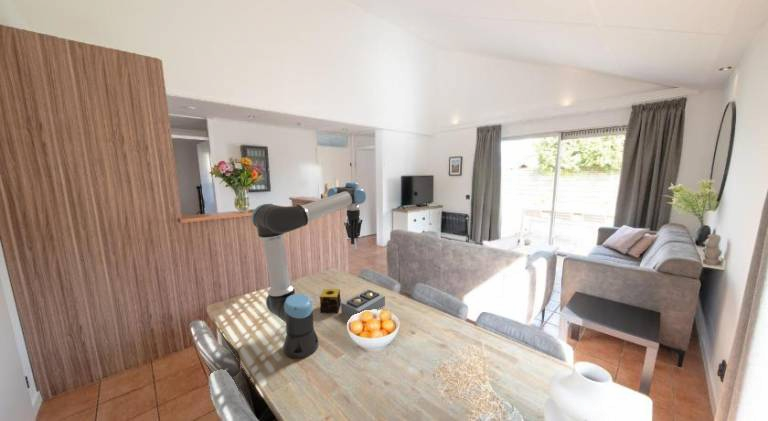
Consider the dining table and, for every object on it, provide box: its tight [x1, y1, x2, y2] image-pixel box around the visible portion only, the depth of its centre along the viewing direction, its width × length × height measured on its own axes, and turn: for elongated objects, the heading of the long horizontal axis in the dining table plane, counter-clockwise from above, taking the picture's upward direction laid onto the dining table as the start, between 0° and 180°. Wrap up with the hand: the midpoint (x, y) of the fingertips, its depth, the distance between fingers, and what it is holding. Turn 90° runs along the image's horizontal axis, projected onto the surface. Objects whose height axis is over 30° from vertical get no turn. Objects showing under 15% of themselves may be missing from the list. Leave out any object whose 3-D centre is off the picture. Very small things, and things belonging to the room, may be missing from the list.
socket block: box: [340, 289, 386, 318], centre depth 155 cm, size 21×14×7 cm, turn 140°
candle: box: [319, 288, 342, 314], centre depth 156 cm, size 10×10×10 cm
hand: (354, 248), depth 161 cm, fingers closed
